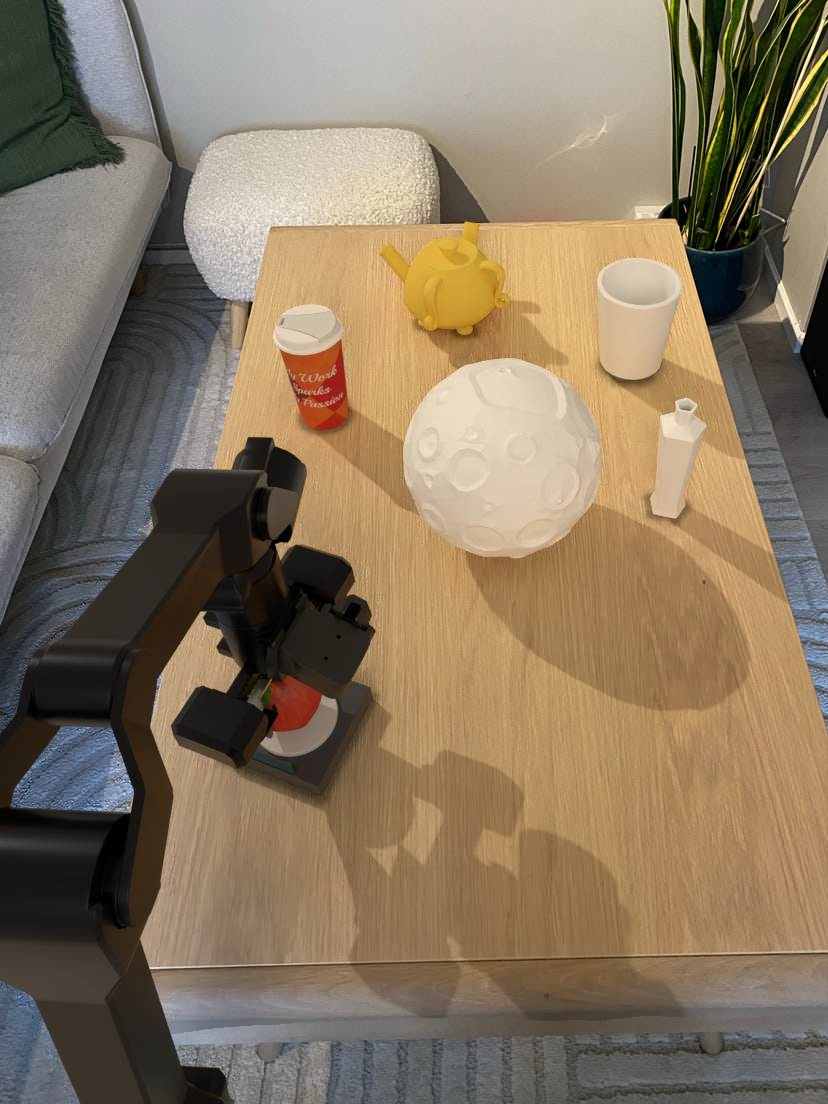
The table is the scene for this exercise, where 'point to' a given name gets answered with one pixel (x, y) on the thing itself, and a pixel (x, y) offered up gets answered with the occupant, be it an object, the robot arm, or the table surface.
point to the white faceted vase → (676, 457)
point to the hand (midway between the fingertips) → (288, 698)
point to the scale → (314, 742)
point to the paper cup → (314, 363)
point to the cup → (635, 315)
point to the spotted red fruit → (291, 703)
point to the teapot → (450, 282)
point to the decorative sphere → (502, 458)
